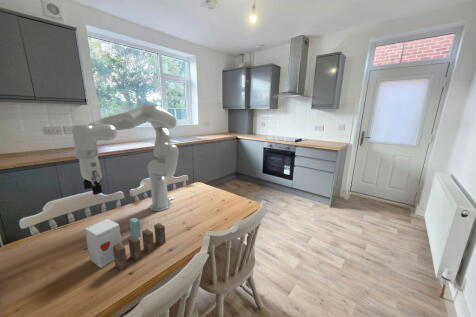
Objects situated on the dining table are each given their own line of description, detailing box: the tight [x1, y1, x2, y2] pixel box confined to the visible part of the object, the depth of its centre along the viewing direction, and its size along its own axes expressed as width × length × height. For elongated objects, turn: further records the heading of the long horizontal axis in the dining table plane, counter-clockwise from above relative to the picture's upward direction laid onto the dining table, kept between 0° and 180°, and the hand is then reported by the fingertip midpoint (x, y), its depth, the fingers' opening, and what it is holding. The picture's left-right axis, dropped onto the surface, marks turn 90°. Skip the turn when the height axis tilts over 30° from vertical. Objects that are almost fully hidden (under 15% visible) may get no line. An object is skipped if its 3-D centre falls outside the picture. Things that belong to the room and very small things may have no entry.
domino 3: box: [127, 236, 142, 262], centre depth 80 cm, size 2×4×9 cm, turn 57°
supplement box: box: [84, 218, 122, 269], centre depth 79 cm, size 9×9×15 cm
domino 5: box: [153, 222, 166, 246], centre depth 90 cm, size 2×4×9 cm, turn 57°
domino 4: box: [141, 228, 155, 254], centre depth 85 cm, size 2×4×9 cm, turn 57°
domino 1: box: [113, 243, 128, 272], centre depth 76 cm, size 2×4×9 cm, turn 57°
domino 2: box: [129, 217, 142, 239], centre depth 94 cm, size 2×4×9 cm, turn 57°
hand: (93, 191), depth 85 cm, fingers open, 9 cm apart
